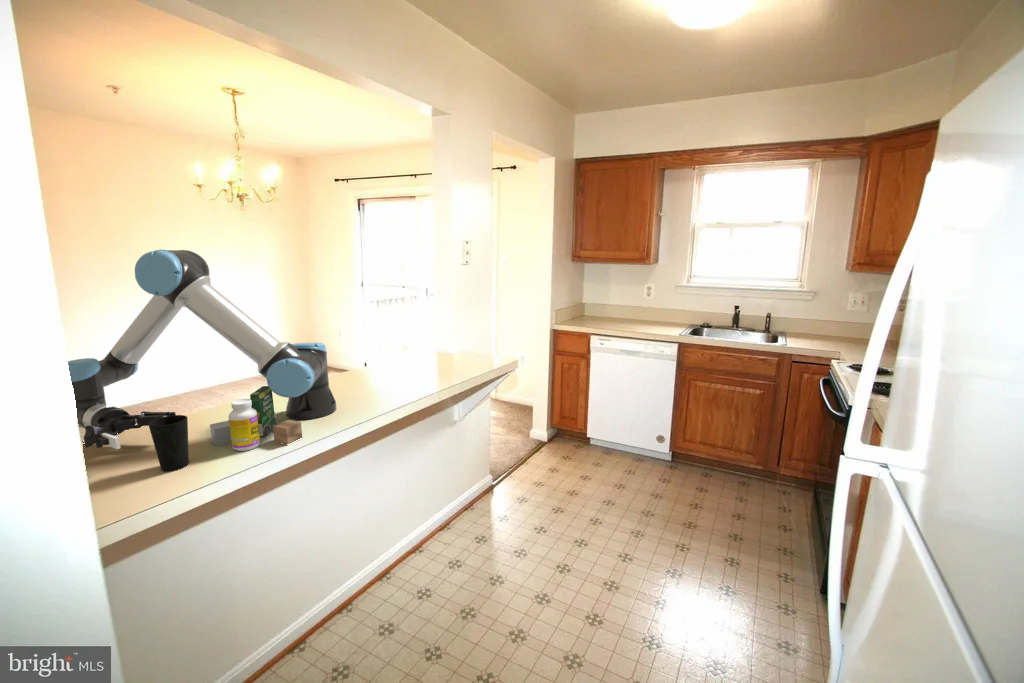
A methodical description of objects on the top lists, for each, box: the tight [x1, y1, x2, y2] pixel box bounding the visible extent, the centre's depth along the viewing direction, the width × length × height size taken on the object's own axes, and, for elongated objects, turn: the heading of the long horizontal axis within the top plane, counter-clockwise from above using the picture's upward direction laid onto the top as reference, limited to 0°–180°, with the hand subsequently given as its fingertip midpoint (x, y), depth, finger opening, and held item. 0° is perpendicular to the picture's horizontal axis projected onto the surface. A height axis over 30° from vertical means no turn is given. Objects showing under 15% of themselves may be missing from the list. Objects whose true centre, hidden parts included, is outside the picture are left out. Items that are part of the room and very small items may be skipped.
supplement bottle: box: [228, 398, 261, 452], centre depth 126 cm, size 7×7×13 cm
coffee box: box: [249, 385, 277, 438], centre depth 135 cm, size 8×3×13 cm, turn 2°
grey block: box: [209, 419, 232, 447], centre depth 130 cm, size 5×5×5 cm
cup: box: [148, 414, 190, 473], centre depth 114 cm, size 8×8×12 cm
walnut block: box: [272, 419, 303, 445], centre depth 131 cm, size 5×5×5 cm
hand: (150, 433), depth 118 cm, fingers open, 13 cm apart
